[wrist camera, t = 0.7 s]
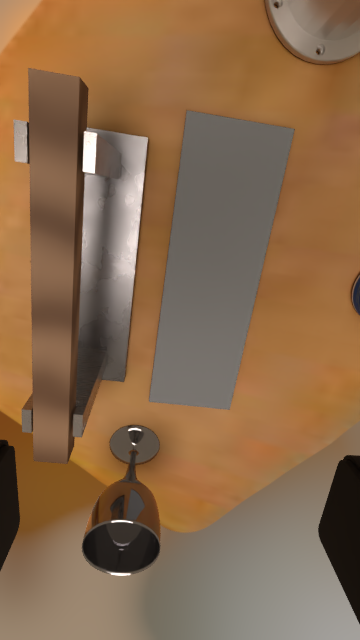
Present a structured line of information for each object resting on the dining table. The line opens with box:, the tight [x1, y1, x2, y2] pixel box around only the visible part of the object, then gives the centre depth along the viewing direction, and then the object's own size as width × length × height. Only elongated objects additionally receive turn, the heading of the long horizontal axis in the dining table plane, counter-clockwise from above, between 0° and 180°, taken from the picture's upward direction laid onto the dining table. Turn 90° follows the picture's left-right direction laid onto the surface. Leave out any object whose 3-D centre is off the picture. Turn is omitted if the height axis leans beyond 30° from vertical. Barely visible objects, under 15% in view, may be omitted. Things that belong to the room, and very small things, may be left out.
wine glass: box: [82, 425, 161, 575], centre depth 41 cm, size 8×8×15 cm
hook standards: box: [14, 120, 148, 437], centre depth 32 cm, size 28×10×14 cm, turn 172°
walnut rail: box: [28, 68, 88, 464], centre depth 26 cm, size 30×3×2 cm, turn 172°
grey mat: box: [149, 110, 295, 410], centre depth 40 cm, size 34×11×1 cm, turn 172°
